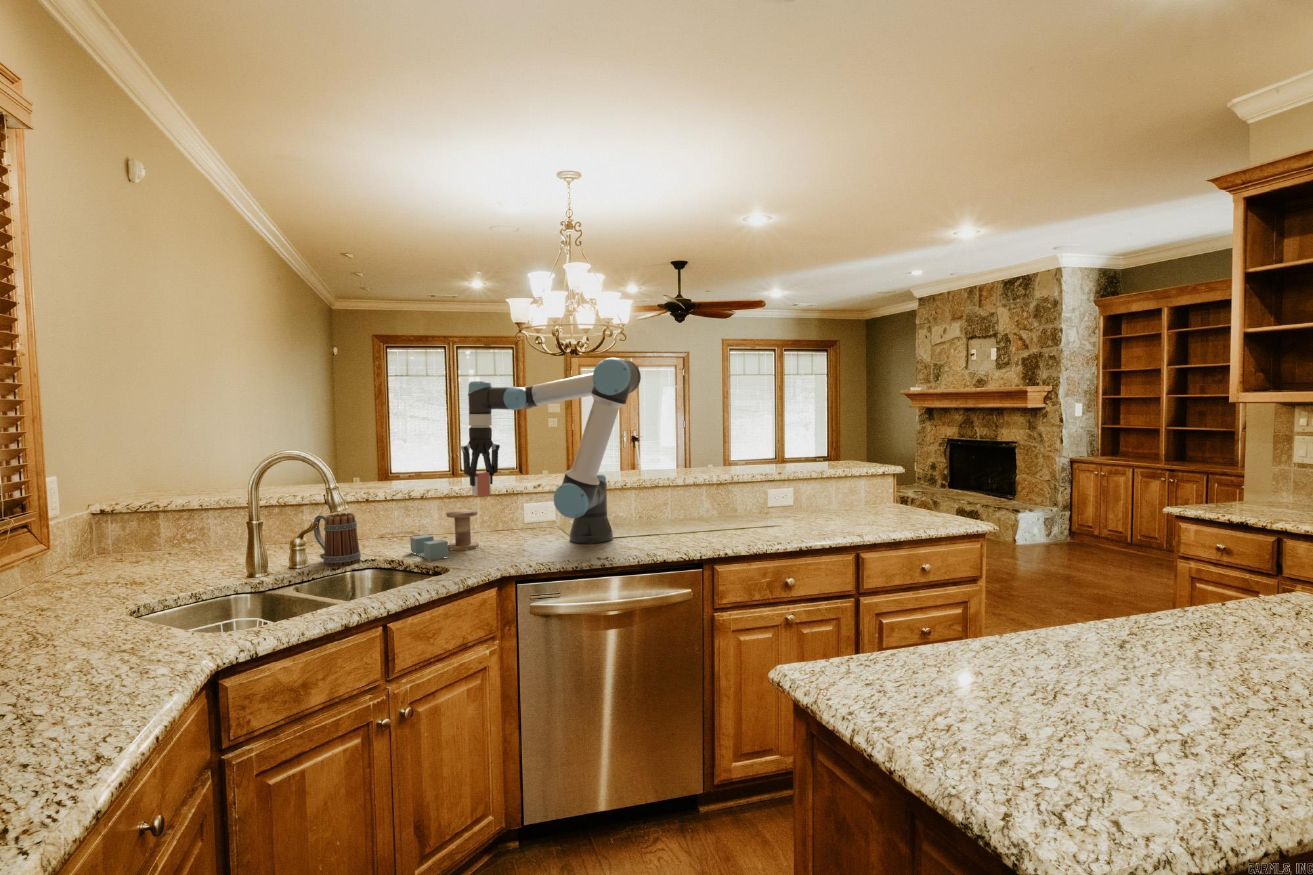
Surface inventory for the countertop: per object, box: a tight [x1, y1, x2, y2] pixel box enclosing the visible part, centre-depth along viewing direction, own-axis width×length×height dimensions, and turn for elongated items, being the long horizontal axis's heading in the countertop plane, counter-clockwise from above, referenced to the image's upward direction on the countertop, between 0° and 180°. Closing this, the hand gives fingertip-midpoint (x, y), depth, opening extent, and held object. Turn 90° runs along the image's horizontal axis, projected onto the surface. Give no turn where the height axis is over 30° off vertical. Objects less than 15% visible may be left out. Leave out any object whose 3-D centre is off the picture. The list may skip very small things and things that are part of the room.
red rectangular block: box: [472, 471, 491, 498], centre depth 232 cm, size 4×4×8 cm
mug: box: [312, 512, 362, 567], centre depth 212 cm, size 16×11×15 cm
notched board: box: [409, 534, 449, 561], centre depth 219 cm, size 16×6×5 cm, turn 40°
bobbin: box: [446, 509, 479, 551], centre depth 229 cm, size 10×10×12 cm
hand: (481, 494), depth 233 cm, fingers closed on red rectangular block, 4 cm apart
